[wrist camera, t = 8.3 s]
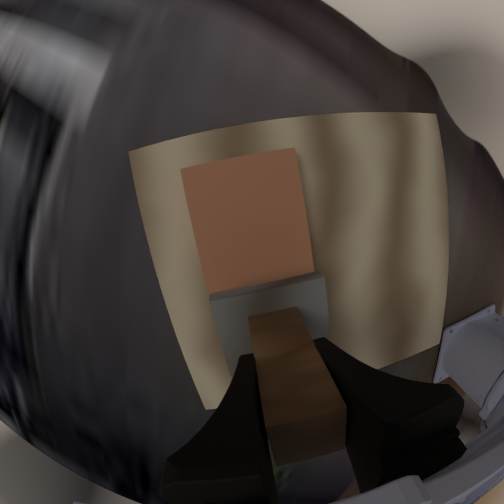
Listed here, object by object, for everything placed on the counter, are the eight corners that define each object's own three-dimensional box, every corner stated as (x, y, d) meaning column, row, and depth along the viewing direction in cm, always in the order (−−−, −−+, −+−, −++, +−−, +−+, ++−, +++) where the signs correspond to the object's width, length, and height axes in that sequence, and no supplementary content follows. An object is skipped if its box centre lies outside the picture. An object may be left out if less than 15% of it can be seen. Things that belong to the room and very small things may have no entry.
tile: (308, 264, 20) (289, 149, 18) (314, 271, 18) (294, 147, 16) (209, 285, 20) (183, 169, 17) (208, 293, 18) (179, 169, 16)
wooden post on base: (319, 271, 15) (401, 359, 7) (326, 345, 16) (383, 449, 8) (210, 294, 15) (195, 410, 7) (230, 366, 16) (235, 486, 8)
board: (428, 115, 19) (435, 114, 18) (434, 338, 24) (439, 343, 23) (133, 153, 18) (128, 151, 17) (206, 402, 23) (205, 409, 22)
